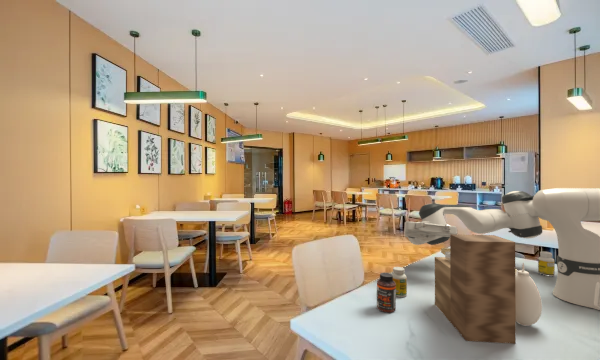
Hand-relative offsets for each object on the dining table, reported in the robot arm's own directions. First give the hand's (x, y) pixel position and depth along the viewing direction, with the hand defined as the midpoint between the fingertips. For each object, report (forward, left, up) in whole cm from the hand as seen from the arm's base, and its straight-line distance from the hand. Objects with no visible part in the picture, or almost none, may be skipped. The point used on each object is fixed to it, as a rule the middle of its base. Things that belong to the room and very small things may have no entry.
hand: (436, 225), depth 107 cm
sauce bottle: (-14, +27, -24) cm, 39 cm away
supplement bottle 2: (+17, +9, -24) cm, 31 cm away
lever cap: (+1, +18, -8) cm, 20 cm away
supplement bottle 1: (+24, +21, -24) cm, 40 cm away
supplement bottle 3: (-53, -19, -24) cm, 62 cm away
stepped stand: (+1, +27, -24) cm, 36 cm away
